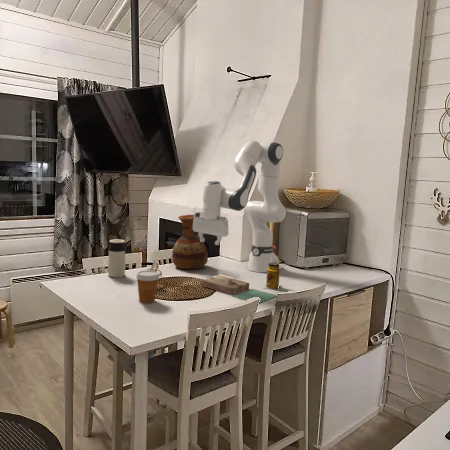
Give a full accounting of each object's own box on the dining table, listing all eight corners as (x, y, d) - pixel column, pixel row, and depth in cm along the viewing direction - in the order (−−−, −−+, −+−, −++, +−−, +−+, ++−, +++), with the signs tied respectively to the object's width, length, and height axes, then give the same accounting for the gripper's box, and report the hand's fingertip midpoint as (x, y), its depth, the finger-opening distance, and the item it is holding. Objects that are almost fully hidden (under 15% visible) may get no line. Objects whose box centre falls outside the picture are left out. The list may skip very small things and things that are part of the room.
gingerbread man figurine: (159, 286, 198) (160, 261, 197) (164, 288, 196) (165, 262, 194) (143, 289, 192) (144, 263, 190) (149, 291, 189) (150, 265, 188)
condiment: (263, 288, 204) (265, 264, 203) (268, 284, 212) (269, 260, 211) (278, 290, 202) (279, 266, 200) (282, 286, 210) (284, 262, 208)
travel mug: (119, 278, 207) (119, 242, 205) (105, 276, 210) (105, 241, 207) (127, 275, 215) (128, 240, 212) (114, 273, 217) (114, 238, 215)
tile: (220, 278, 207) (220, 274, 206) (235, 282, 201) (235, 278, 201) (212, 280, 202) (212, 276, 202) (227, 284, 196) (227, 280, 196)
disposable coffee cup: (138, 305, 170) (138, 276, 168) (133, 298, 179) (134, 270, 177) (161, 303, 174) (162, 275, 172) (155, 296, 182) (156, 269, 181)
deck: (219, 281, 212) (220, 275, 212) (248, 289, 201) (249, 283, 201) (201, 286, 201) (201, 280, 201) (231, 295, 190) (231, 288, 190)
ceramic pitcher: (165, 265, 239) (166, 213, 235) (192, 261, 252) (195, 211, 248) (186, 273, 225) (188, 217, 220) (214, 268, 238) (217, 216, 234)
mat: (252, 289, 201) (252, 288, 201) (277, 296, 193) (278, 295, 193) (232, 296, 189) (232, 295, 189) (258, 303, 180) (258, 303, 180)
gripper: (232, 217, 200) (230, 246, 201) (199, 212, 212) (198, 239, 214) (223, 217, 195) (222, 247, 196) (191, 213, 207) (189, 240, 209)
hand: (209, 243), depth 205 cm, fingers open, 8 cm apart
